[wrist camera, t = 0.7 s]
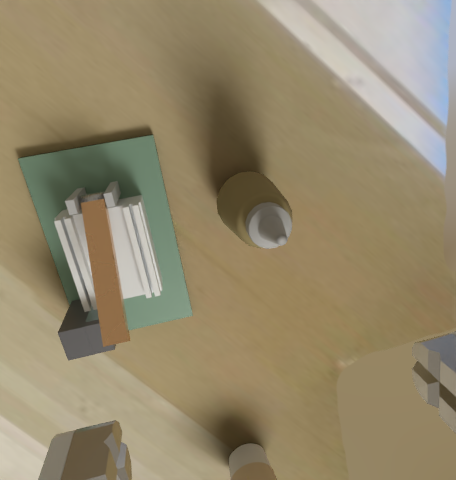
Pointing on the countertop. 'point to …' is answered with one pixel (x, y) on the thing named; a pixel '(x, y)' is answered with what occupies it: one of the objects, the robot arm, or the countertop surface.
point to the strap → (104, 269)
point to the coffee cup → (250, 463)
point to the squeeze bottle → (255, 210)
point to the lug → (81, 332)
